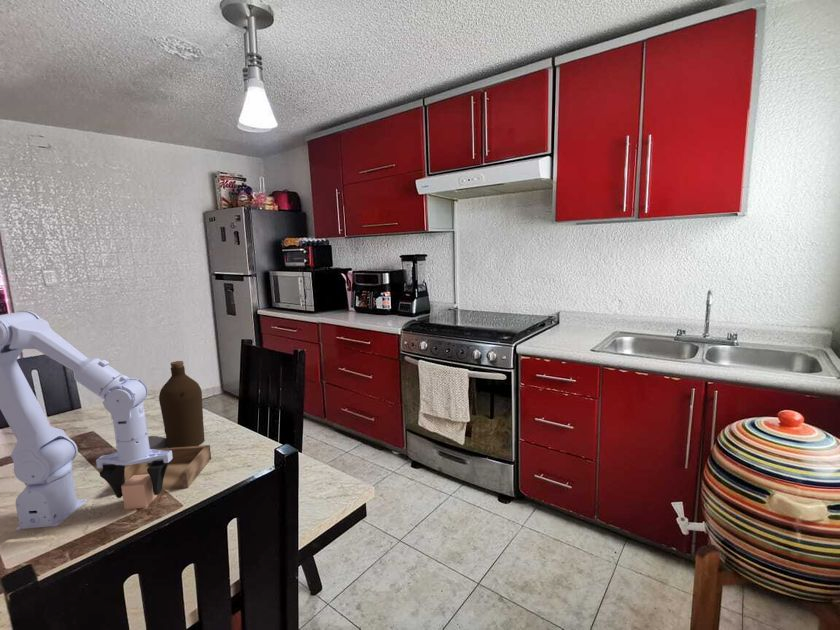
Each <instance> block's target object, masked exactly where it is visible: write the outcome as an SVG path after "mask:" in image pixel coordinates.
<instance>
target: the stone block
mask: <svg viewBox="0 0 840 630" xmlns="http://www.w3.org/2000/svg"><path fill="white" fill-rule="evenodd" d="M148 439H149V447H150V449H162V448H168V446H167V440H166V437H162V436H158V435H148ZM116 453H117V450H116V451H113V452H111V453H110V454H109V455H111V454H116Z"/></svg>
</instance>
